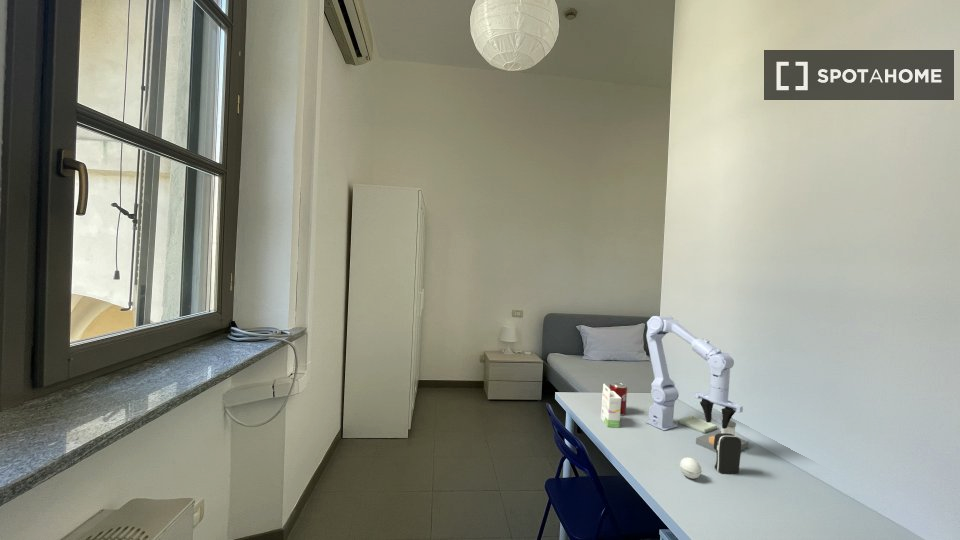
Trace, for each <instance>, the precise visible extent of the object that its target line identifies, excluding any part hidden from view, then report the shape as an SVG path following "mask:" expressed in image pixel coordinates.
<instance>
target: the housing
mask: <svg viewBox="0 0 960 540" xmlns="http://www.w3.org/2000/svg"><path fill="white" fill-rule="evenodd" d="M719 433H721V430H719V429H716V430H713V431H710V432H707V433H705V434H703V435H701V436H697V437H696V439H695V444H696V445H699V446H702V447H703V448H705V449H707V450H710V451H712V452H714V453H716V450H715V449H714V444H712V443H710V442H709V437H711V436H715V435H716V434H719ZM738 438H739V439H740V440H741V451H742V450H743V451H744V450H745V449H747V448H749V441H747V440H745V439H742V438H740V437H738Z"/></svg>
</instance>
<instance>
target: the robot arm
mask: <svg viewBox="0 0 960 540" xmlns="http://www.w3.org/2000/svg"><path fill="white" fill-rule="evenodd" d="M646 325H647V331H646V335H645V337H646V341H647V347H648V351H649V356H650V362H651V365H652V366H651V367H652V370H653V371H652V372H653V378H654V380H653V381H652V382H651V384H650V385H651V390H650V395H651V399H652V401H653V404H651V405H650V406H649V408H648V418H647V419H648V420H646V421H645V423H646V424H648V425H651V426H653V427H656V428H658V429H660V430H662V431H668V430H670V429H671V430H672V429H674V428H676V427H678V424H676V423H674V415H675V412H674V411H675V404H676V401H677V400H678V398H679V395H680V393H679V390H678V388H677V387H676V385H675V384H676V383H675V382H674V380H672V379H671V378H670V375H669V371H668V364H667V360H666V356H665V350H664V346H663V338H664V337H665V336H666V335H667V334H669V333H673V334H675V335H676V336H678V337H680V338H681V340H683V341H685V343H688V344H689V345H691V349H692V351H693V352H695V354H697V355H698V356H700V357H701V358H702V359H704V360H705V361H706V362H707V365H708V367H709V368H710V369H709V370H710V375H709V384H708V385H709V387H708V388H709V389H708V394H707V393H703V392H699V391H698V392H695V398H696V399H699V400H701V401H699V404H700V406H701V407H702V410H703V413H704V417H705V421H706V422H710V423H712V418H713V417H712V416H713V408H714V404H715V405H718V406H721V407H723V408H721V413H722V419H723V420H722V419H721V420H722V423H721V429H722V428H723V429H725V428H727V426H728V423H729V421H730V420H731V419H732V418H733V416H734V415H735V413H736V412H737V413H743V409H744V408H743V407H744V406H743V405H741V404H737V403H735V402H733V401H730V400H729V391H730V389H729V388H730V377H731V369H732V368H733V367H734V364H735V362H734V358H733V357H732V356H731V354H730V353H728V352H725V351H724V352H722V350H721V348H716V346H714V345H713V344H711V343H710V340H709V339H704V338H697V336H695V335H694V334H693V333H692V332H691V331H689V330H688V329H687V328H685V327H684V325H682V324H681V323H680V322H679V320H677V319H675V318H674V317H673V316H671V315H665V316H664V315H661V316H659V315H652V316H651V317H650V318H649V319H648V320H647V322H646Z"/></svg>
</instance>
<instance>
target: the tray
mask: <svg viewBox="0 0 960 540" xmlns="http://www.w3.org/2000/svg"><path fill="white" fill-rule="evenodd" d="M678 424H680V425H682V426H685V427H687V428H690V429H692V430H694V431H697V432H700V433H701V434H703V435H706V434H708V433H711V432H714V431H717V430H718V424H715V423H712V422H706V419H702V418H700V417H697V416H695V415H690V416H686V417H682V418H679V419H678Z"/></svg>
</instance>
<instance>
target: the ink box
mask: <svg viewBox="0 0 960 540" xmlns="http://www.w3.org/2000/svg"><path fill="white" fill-rule="evenodd" d="M601 397H602V398H601V407H600V408H601V411H600V419H601V421H603V422H604V424H605V425H606V427H608V428H618V429H619V428H620V423H621V422H620V421H621V415H620V409H621V397H619V396H618V395H617V394H616V393H615V392H614V391H610V389H609V386H607V385H606V383H603V385H602V396H601Z"/></svg>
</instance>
